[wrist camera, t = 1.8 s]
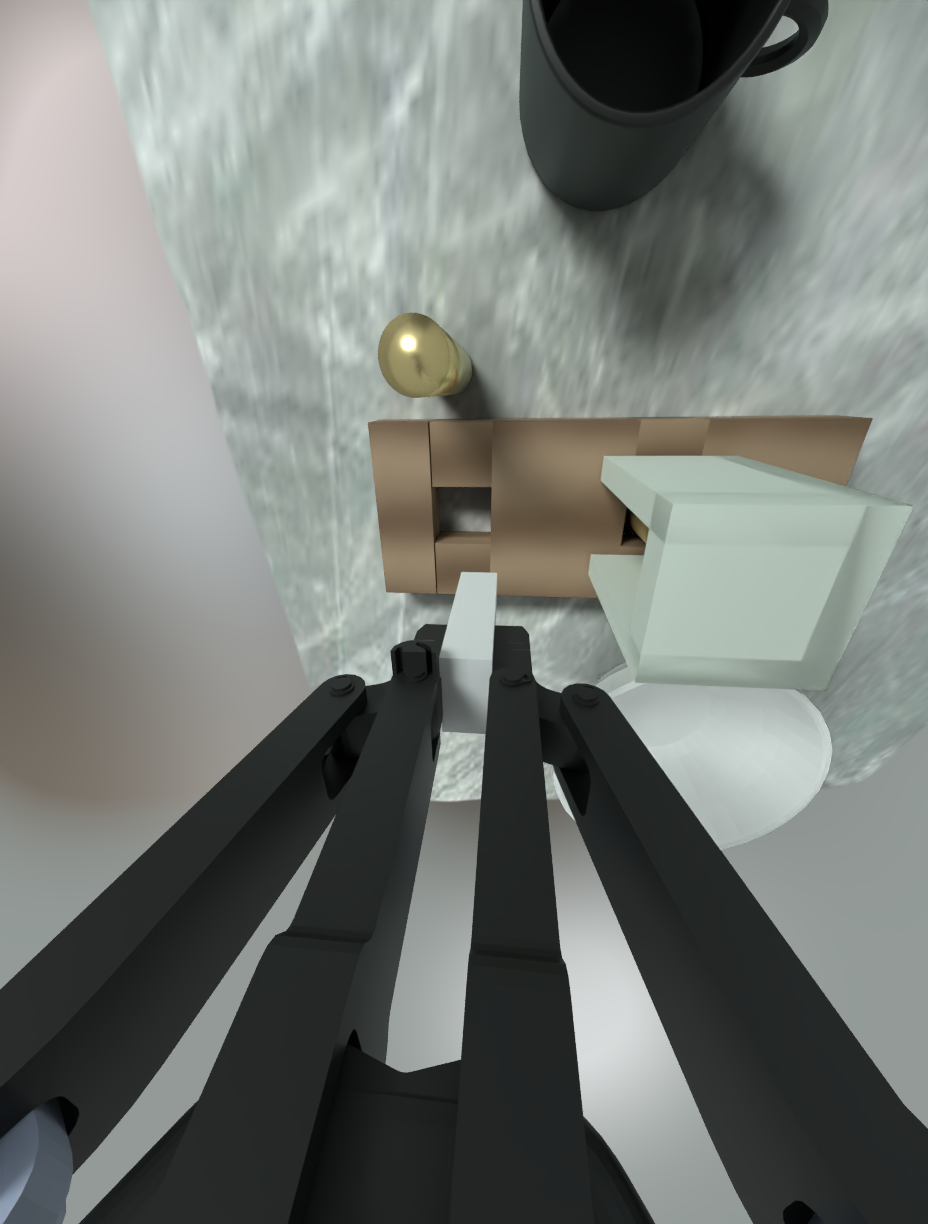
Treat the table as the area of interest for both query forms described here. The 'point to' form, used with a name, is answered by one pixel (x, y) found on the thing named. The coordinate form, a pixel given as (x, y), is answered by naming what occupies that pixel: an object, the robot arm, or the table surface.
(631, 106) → the mug
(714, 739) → the bowl
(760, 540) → the housing
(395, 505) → the wooden slotted block
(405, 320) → the pin
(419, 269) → the table surface
